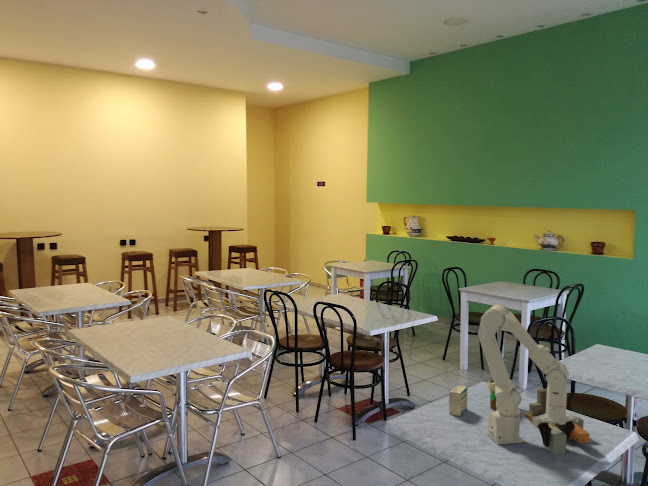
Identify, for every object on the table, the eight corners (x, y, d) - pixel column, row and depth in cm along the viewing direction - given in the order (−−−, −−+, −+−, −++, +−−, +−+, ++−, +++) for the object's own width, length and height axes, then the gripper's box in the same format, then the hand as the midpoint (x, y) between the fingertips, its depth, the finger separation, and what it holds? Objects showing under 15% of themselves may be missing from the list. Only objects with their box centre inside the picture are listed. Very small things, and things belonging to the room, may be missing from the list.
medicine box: (460, 417, 187) (460, 393, 186) (448, 414, 189) (448, 391, 188) (467, 409, 193) (467, 386, 192) (455, 406, 196) (456, 384, 195)
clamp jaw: (570, 445, 162) (570, 433, 161) (551, 431, 171) (552, 419, 171) (599, 443, 163) (599, 431, 163) (579, 428, 173) (579, 417, 172)
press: (553, 440, 169) (555, 411, 168) (524, 416, 186) (525, 390, 185) (587, 438, 170) (589, 408, 169) (555, 414, 188) (556, 388, 187)
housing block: (553, 454, 160) (554, 436, 159) (542, 445, 166) (543, 427, 165) (565, 453, 161) (566, 435, 160) (554, 444, 166) (555, 426, 166)
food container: (493, 399, 202) (493, 374, 201) (509, 403, 199) (509, 377, 198) (482, 410, 192) (483, 384, 191) (499, 414, 189) (500, 388, 188)
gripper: (541, 410, 157) (540, 452, 158) (585, 407, 159) (583, 449, 160) (529, 400, 164) (527, 441, 165) (571, 398, 166) (569, 438, 167)
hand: (554, 444), depth 163 cm, fingers open, 5 cm apart
